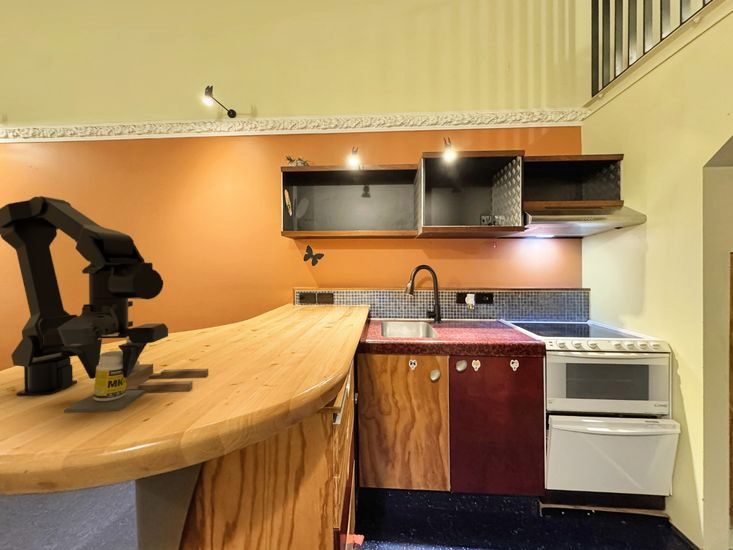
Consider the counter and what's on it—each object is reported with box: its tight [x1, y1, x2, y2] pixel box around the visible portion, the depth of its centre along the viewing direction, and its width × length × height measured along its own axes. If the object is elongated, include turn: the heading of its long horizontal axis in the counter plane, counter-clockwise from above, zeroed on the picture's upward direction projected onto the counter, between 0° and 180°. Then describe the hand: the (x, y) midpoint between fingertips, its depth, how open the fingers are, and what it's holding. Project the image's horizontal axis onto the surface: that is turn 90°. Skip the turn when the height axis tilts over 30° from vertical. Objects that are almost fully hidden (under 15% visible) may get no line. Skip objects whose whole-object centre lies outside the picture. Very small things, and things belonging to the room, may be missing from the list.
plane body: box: [126, 360, 209, 394], centre depth 66 cm, size 16×10×5 cm, turn 96°
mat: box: [63, 390, 146, 414], centre depth 58 cm, size 9×9×1 cm
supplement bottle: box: [93, 350, 127, 401], centre depth 58 cm, size 5×5×8 cm
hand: (110, 377), depth 58 cm, fingers open, 6 cm apart
